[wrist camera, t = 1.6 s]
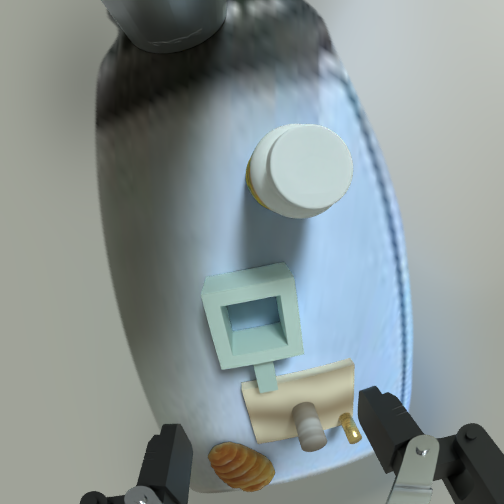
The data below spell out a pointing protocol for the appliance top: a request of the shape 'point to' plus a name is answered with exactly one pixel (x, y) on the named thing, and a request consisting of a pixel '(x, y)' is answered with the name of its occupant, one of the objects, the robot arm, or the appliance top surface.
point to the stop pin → (350, 428)
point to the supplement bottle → (299, 170)
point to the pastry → (241, 466)
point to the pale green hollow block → (257, 338)
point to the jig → (302, 404)
